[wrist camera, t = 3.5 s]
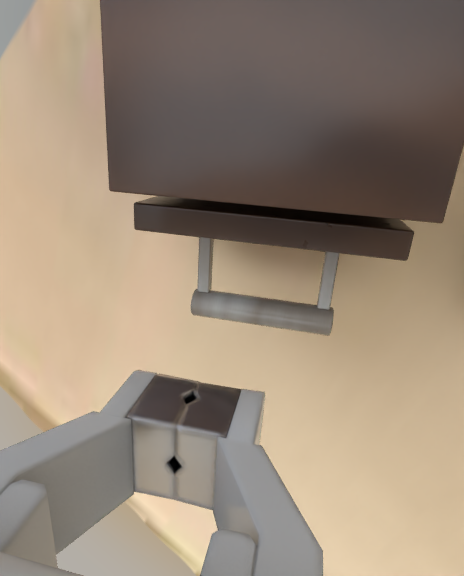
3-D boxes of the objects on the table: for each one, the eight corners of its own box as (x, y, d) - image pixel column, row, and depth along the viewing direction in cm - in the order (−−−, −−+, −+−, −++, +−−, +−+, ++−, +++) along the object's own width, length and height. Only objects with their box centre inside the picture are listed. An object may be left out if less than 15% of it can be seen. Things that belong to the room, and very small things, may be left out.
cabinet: (394, 195, 21) (443, 223, 13) (182, 177, 24) (108, 191, 15) (468, -151, 16) (628, -472, 8) (188, -134, 18) (80, -371, 10)
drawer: (363, 303, 23) (382, 366, 16) (185, 278, 25) (136, 326, 18) (442, -79, 16) (527, -236, 10) (192, -71, 18) (121, -197, 12)
